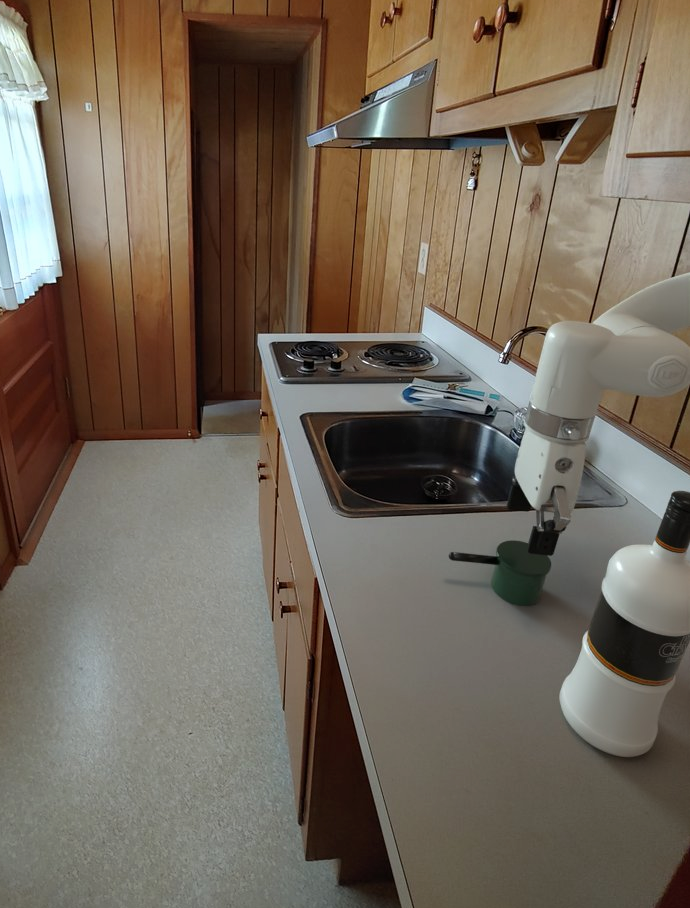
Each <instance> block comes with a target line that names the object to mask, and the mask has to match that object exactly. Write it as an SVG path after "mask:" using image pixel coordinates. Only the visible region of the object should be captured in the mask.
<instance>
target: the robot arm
mask: <svg viewBox="0 0 690 908" xmlns="http://www.w3.org/2000/svg"><path fill="white" fill-rule="evenodd" d="M686 328H690V271H689V272H686V273H682V274H679V275H676V276H672V277H670V278H666V279H664V280H661V281H658V282H656V283H654V284H651V285H649V286H647V287H644V288H643V289H641V290H639V291H637V292H636V293H634V294H631V295H630V296H629V297H627V298H625V299H624V300H622V301H620V302H619V303H617V304H615V305H614V306H612V307H611V308H609V309H608V310H606V311H605V312H603V313H602V314H601V315H600V316H598V317H597V318H596V319H595V320H593V322H592V323H591V322H586V321H580V320H579V321H578V320H565V321H557V322H555V323H553V324H552V325H551V326H549V328H548V329H547V331H546V333H545V337H544V339H543V340H544V341H543V343H542V349H541V352H540V357H539V361H538V365H537V369H536V373H535V377H534V381H533V384H532V390H531V393H530V397H529V401H528V405H527V410H526V413H525V417H524V421H523V426H524V427H525V429H524V433H523V435H522V438H521V441H520V444H519V447H518V448H517V456H516V459H515V463H514V474H513V476H512V478H511V479H512V484H511V485H510V490H509V493H508V497H507V502H506V508H507V510H509V511H516V512H517V511H518V512H528V513H529V512H530V511H531V509H532V508H533V509H534V510H535V516H536V517H535V518H536V525H532V528H531V533H530V535H529V539H528V542H527V543H528V546H527V551H528V553H530V554H538V555H547V556H548V557H551V556H553V555H554V554H555V550H556V548H557V547H556V546H557V544H558V541H559V537H560V535H562V534H563V532H564V531H566V529H567V526H568V525H569V524H570V523H571V521H572V516H571V514H572V513H573V512H574V509H575V506H576V503H577V499H578V495H579V490H580V486H581V483H582V478H583V475H584V474H583V473H584V467H585V461H586V460H585V459H586V450H587V444H586V442H587V441H588V440H589V437H590V435H591V432H592V429H593V425H594V421H595V418H596V416H597V412H598V410H599V409H598V408H599V405H600V403H601V398H602V396H603V393H604V390H611V391H616V392H620V393H623V394H630V395H632V396H633V395H634V396H639V397H646V398H661V397H663V398H664V397H667V396H671V395H674V394H678V393H680V392H682V390H685V389H686V388H687V387H688V386H689V385H690V345H688V343H686V342H685V341H683V340H682V339H681V338H679V337H677V336H675V335H673V333H676V332H677V331H681V330H683V329H686ZM546 503H552V505H553V506H549V505H545V504H546ZM545 513H553V517H552V519H547V520H545Z"/></svg>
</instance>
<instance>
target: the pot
mask: <svg viewBox="0 0 690 908" xmlns="http://www.w3.org/2000/svg"><path fill="white" fill-rule="evenodd" d="M528 543H529V542H526V541H521V540H515V539H514V540H505V541H502V542H500V543H499V544H498V545H497V547H496V551H495V555H489V554H488V555H486V554H475V553H467V552H456V551H450V552H449V554H448V559H449V560H450V561H453V562H461V563H462V562H463V563H471V564H472V563H473V564H483V565H493V566H494V568H493V573H492V578H491V582H490V583H491V588H492V590H493V592H494V593H495V594H496V595H497V596H498V597H500V599H502V600H504V601H505V602H508V603H510V604H512V605H515V606H519V607H530V606H534V605H536V604H537V603H539V601H540V598H541V595H542V592H543V588H544V584H545V581H546V577H547V575H548V574H550V572H551V569H552V561H551V559H550V556H548V555H538V554H530V553H528V551H527V546H528Z"/></svg>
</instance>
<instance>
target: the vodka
mask: <svg viewBox="0 0 690 908" xmlns="http://www.w3.org/2000/svg"><path fill="white" fill-rule="evenodd" d="M689 546H690V491H688V490H687V491H686V490H675V491H673V492H671V493H670V498H669V500H668V502H667V506H666V508H665V512H664V513H663V516H662V519H661V522H660V524H659V527H658V530H657V532H656V535H655V538H654V540H653V543H652V544H630V545H626V546H624V547H622V548H620V549H618V550H617V551H616V552H615V553H614V554H613V555H612V556H611V558H610V559H609V561H608V563H607V568H606V572H605V576H604V577H603V579H602V582H601V592H600V595H599V598H598V601H597V603H596V606H595V610H594V612H593V614H592V618H591V620H590V624H589V627H588V630H587V631H585V633H584V634H583V637H582V641H581V643H582V644H581V650H580V653H579V656H578V657H577V661H576V663H575V665H574V667H572V668H573V669H572V670H571V672H570V673H569V675H567V676H566V678H565V679H564V681H563V682H562V685H561V688H560V691H559V696H558V697H559V704H560V708H561V712H562V713H563V716H564V718H565V720H566V721H567V723H568V725H569V726H570V727H571V728H572V730H573V731H574V732H575V733H576V734H578V735H579V737H581V738H582V739H583V740H584V741H585V742H587V743H588V744H590V745H591V746H593V747H594V748H596V749H598V750H600V751H602V752H604V753H606V754H609V755H613V756H616V757H620V758H621V757H622V758H634V757H639V756H642V755H643V754H646V753H647V752H649V751H650V749H652V747H653V745H654V743H655V741H656V738H657V737H658V736H657V735H658V732H659V725H658V722H659V716H660V712H661V710H662V707H663V704H664V701H665V699H666V696H667V695H668V692H669V691H670V690H672V688H673V687H674V685H675V683H676V673H677V671H678V669H679V666H680V664H681V662H682V660H683V657H684V655H685V653H686V650H687V649H688V646H689V644H690V560H689V559H688V558H686V556H687V554H688V550H689Z"/></svg>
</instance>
